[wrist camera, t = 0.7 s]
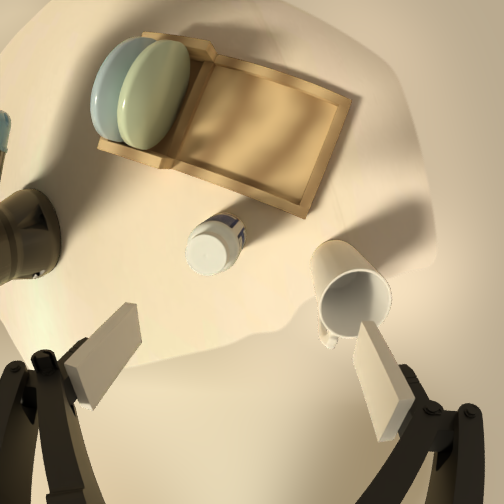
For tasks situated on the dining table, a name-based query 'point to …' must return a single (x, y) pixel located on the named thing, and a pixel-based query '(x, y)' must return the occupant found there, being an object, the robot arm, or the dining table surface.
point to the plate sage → (153, 93)
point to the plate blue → (113, 85)
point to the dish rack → (247, 129)
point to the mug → (346, 291)
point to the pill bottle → (215, 244)
